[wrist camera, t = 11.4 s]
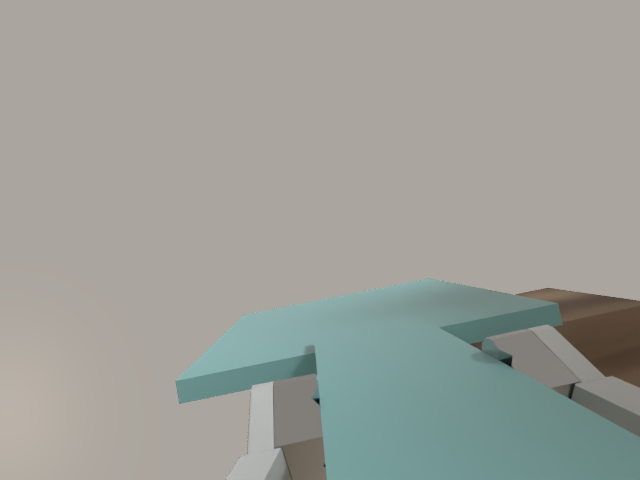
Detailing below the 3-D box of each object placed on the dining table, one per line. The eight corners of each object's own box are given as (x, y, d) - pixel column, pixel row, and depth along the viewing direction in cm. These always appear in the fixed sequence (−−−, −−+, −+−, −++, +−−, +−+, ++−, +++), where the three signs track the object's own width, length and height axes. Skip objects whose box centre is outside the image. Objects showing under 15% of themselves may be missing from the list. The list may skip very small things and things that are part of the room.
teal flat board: (1353, 538, 3) (1315, 405, 3) (-305, 970, 3) (-327, 798, 3) (431, 289, 27) (427, 273, 27) (246, 325, 27) (243, 309, 27)
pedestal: (748, 728, 22) (653, 302, 23) (591, 769, 21) (500, 335, 22) (610, 579, 32) (547, 287, 33) (500, 605, 31) (440, 309, 32)
